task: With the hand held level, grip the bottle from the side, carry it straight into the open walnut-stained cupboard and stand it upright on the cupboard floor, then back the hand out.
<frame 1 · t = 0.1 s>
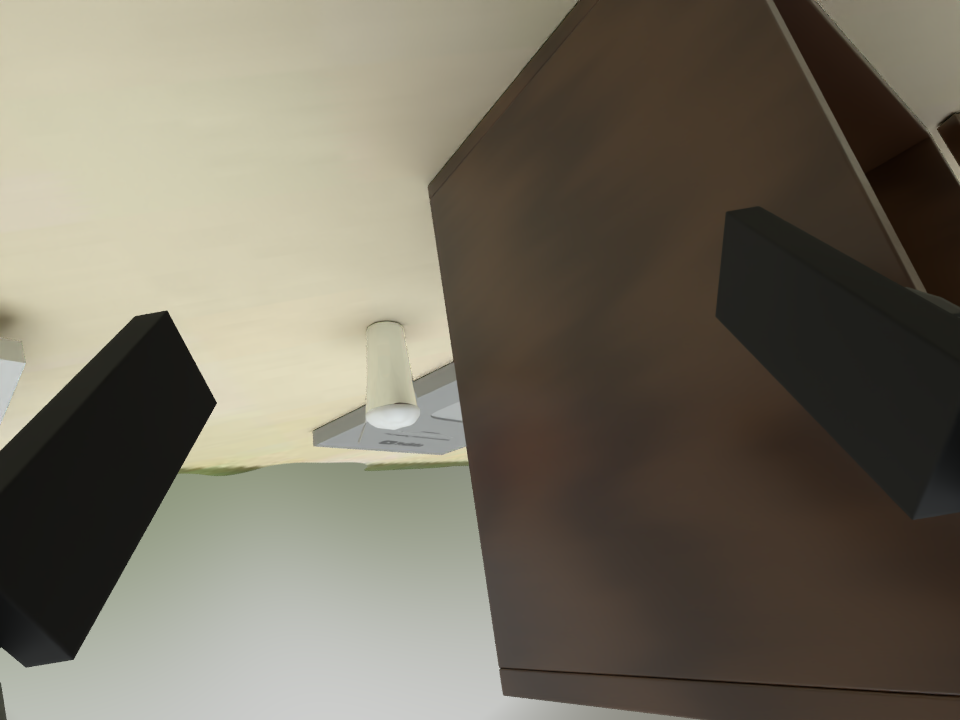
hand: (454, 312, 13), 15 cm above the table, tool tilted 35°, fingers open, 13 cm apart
milkshake: (379, 327, 48), on the table
cupboard: (686, 156, 32), on the table
award plaque: (451, 407, 74), on the table
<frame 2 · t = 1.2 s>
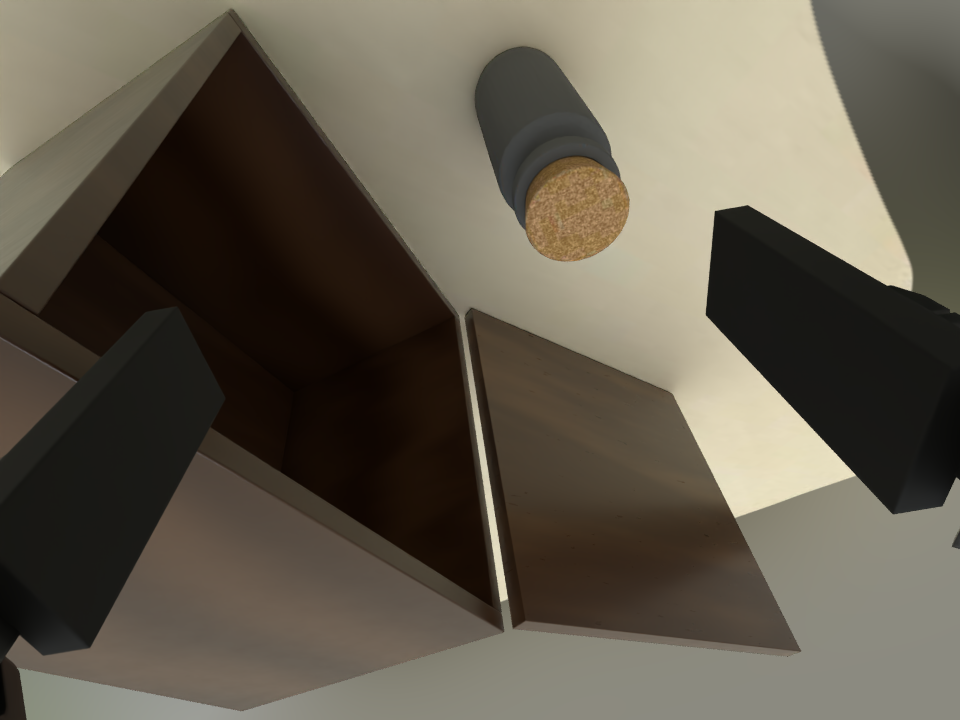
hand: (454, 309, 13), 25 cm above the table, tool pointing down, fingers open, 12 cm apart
bottle: (518, 95, 34), on the table
cupboard: (271, 253, 40), on the table
cupboard door: (596, 489, 45), point 13 cm above the table, hinge at 150.0°
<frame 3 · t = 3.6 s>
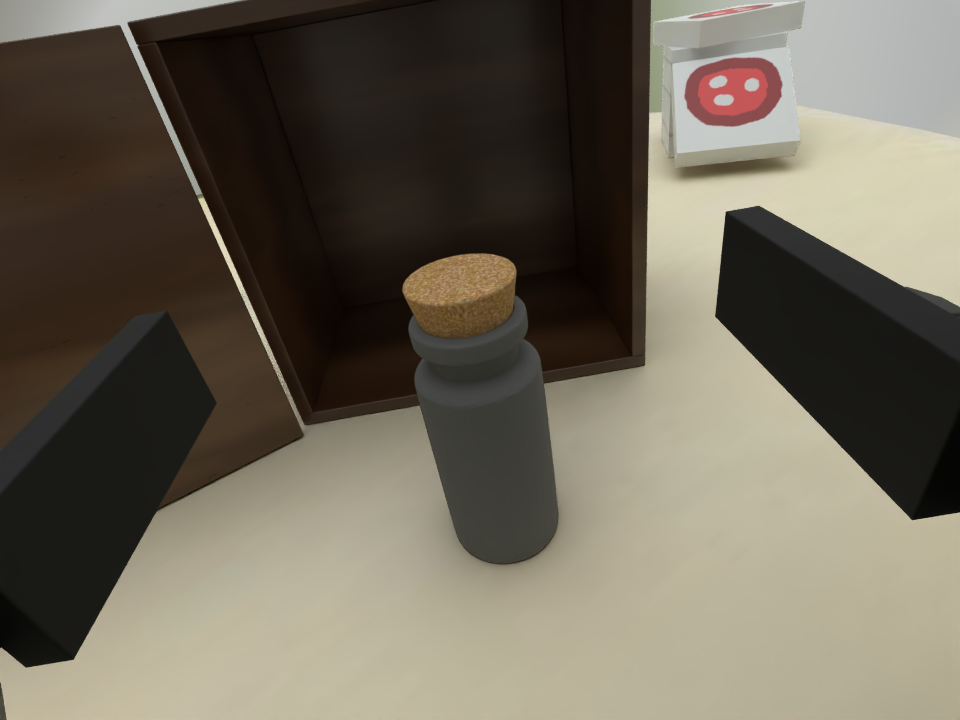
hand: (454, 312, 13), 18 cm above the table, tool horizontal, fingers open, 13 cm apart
bottle: (507, 521, 30), on the table
cupboard: (466, 335, 47), on the table
pizza boxes: (718, 150, 84), on the table
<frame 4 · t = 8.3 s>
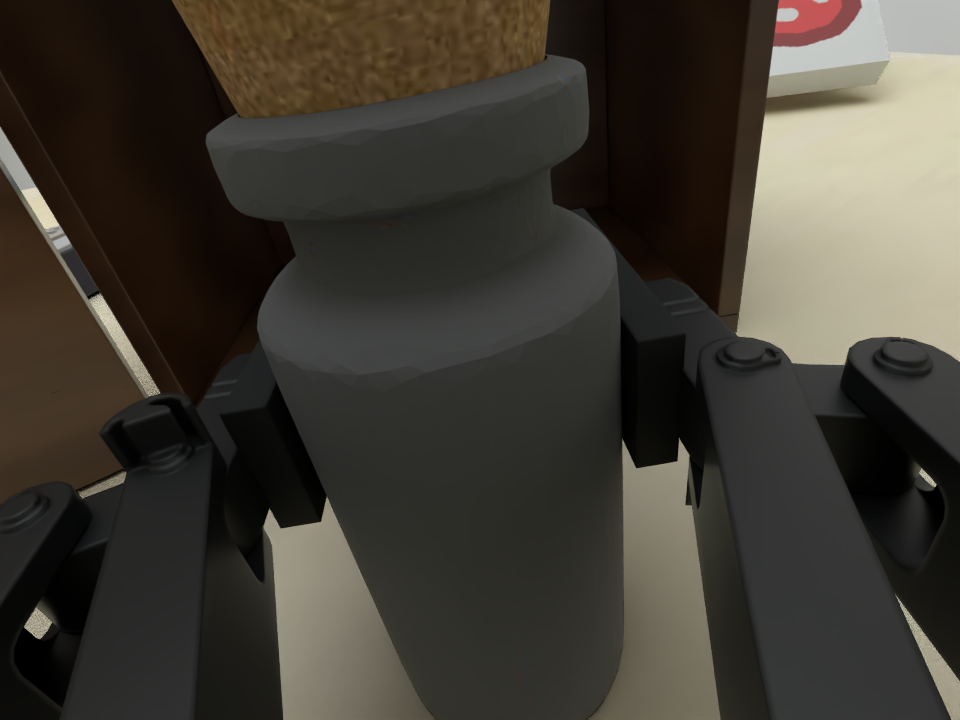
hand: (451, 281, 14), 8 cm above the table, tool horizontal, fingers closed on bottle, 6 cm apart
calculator: (44, 291, 45), on the table
bottle: (513, 631, 14), on the table, touching gripper
cupboard: (450, 296, 32), on the table
pizza boxes: (768, 91, 68), on the table
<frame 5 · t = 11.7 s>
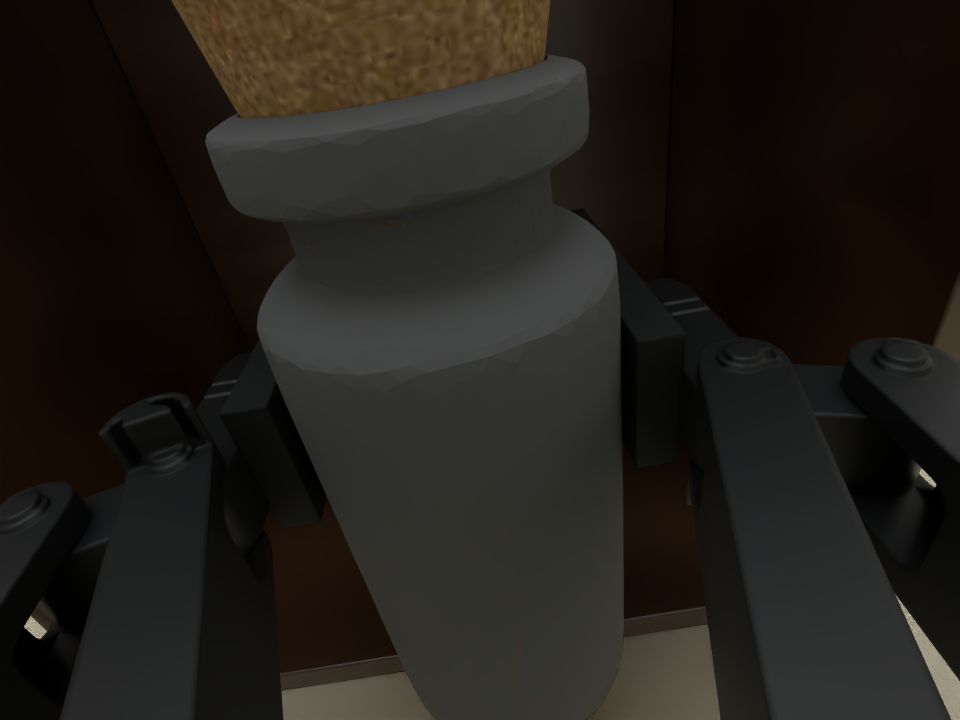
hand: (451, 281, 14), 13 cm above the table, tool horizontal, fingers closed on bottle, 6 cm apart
bottle: (513, 632, 14), point 5 cm above the table, touching gripper
cupboard: (478, 473, 26), on the table
when the fingers open (9 cm above the table, at t = 15.0 s): bottle stays where it is, resting on cupboard.
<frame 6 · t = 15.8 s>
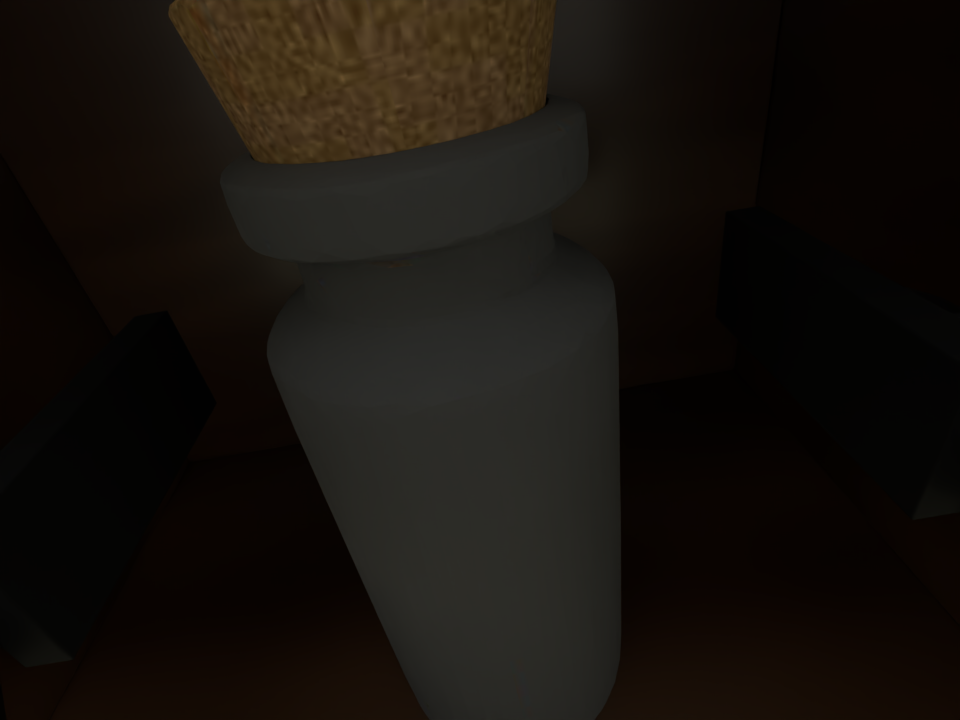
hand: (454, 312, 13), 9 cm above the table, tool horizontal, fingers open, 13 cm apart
bottle: (513, 642, 15), point 1 cm above the table, touching cupboard
cupboard: (477, 599, 17), on the table
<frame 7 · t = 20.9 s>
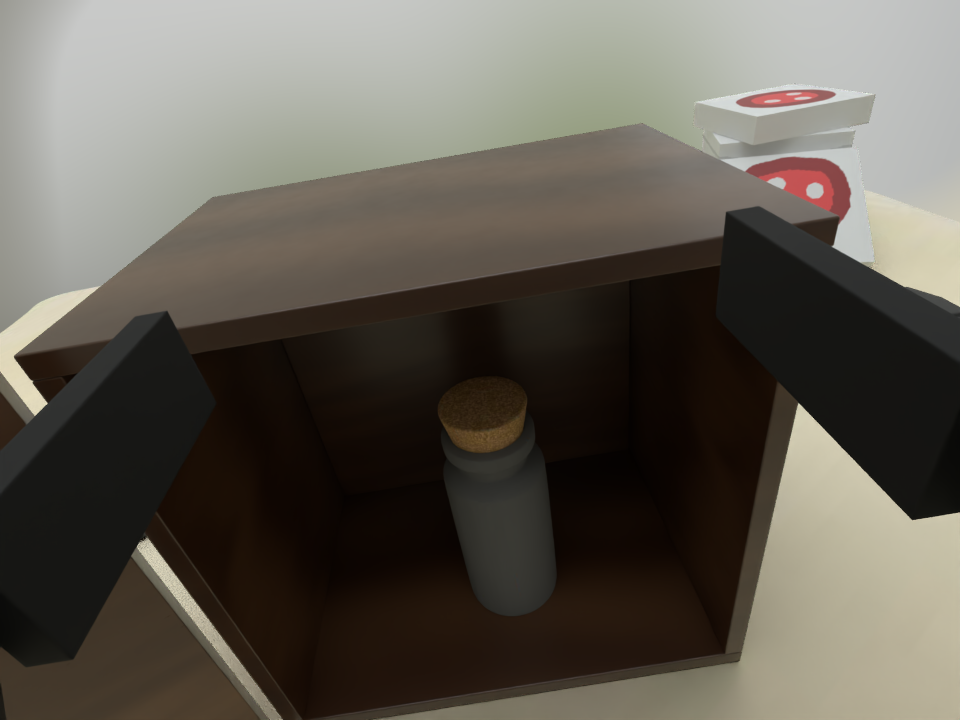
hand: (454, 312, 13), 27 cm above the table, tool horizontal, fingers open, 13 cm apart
bottle: (514, 578, 36), point 1 cm above the table, touching cupboard
cupboard: (498, 562, 38), on the table
pizza boxes: (766, 247, 74), on the table
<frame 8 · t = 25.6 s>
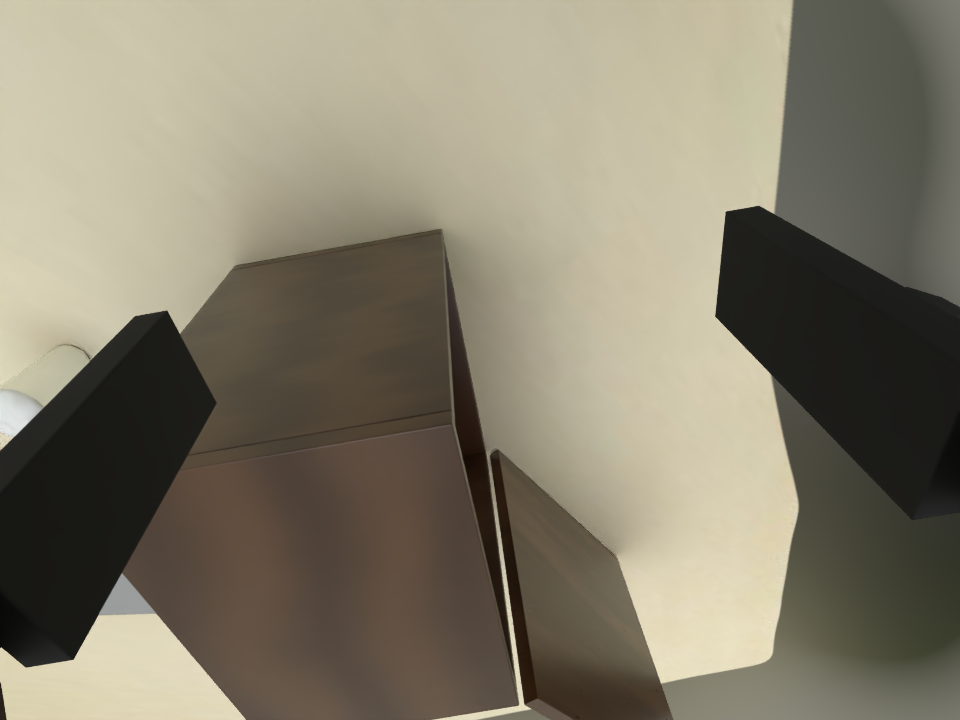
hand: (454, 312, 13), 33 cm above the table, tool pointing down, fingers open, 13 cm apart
milkshake: (68, 355, 49), on the table
cupboard: (377, 371, 52), on the table
cupboard door: (561, 620, 55), point 13 cm above the table, hinge at 150.0°
award plaque: (3, 534, 60), on the table
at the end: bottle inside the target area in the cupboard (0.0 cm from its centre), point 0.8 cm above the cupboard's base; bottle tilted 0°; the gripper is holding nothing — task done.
